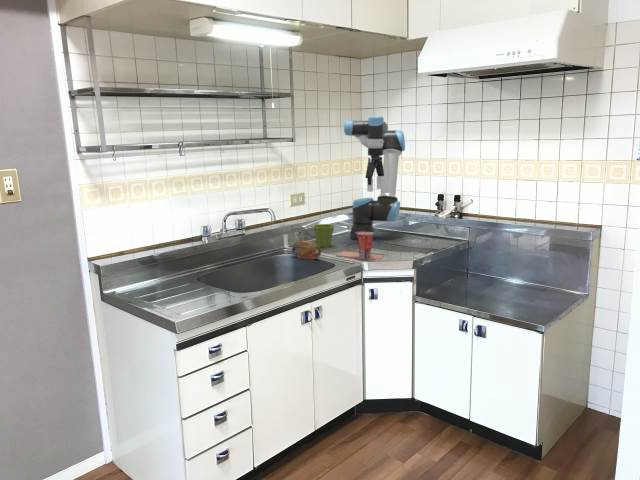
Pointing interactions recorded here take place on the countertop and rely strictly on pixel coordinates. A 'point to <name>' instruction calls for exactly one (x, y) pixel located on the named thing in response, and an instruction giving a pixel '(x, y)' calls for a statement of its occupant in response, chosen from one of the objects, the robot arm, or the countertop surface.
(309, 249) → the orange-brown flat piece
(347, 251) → the pink thin bar
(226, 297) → the countertop surface
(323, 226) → the plant pot
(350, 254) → the mat
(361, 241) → the cup
